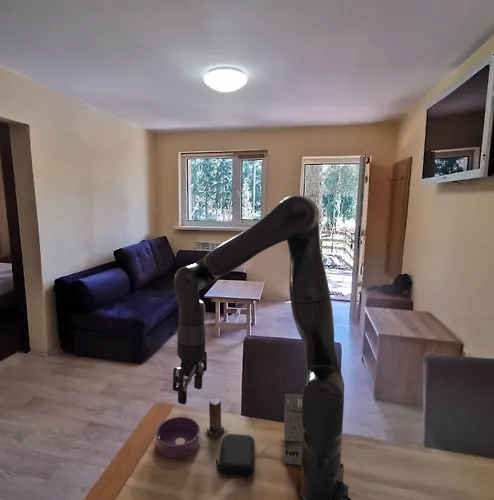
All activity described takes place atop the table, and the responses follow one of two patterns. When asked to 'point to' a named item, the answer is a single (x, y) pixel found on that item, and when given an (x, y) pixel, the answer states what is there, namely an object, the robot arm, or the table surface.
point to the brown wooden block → (215, 418)
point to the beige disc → (179, 441)
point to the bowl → (175, 430)
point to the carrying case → (236, 455)
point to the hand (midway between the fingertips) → (190, 395)
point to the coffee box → (293, 429)
